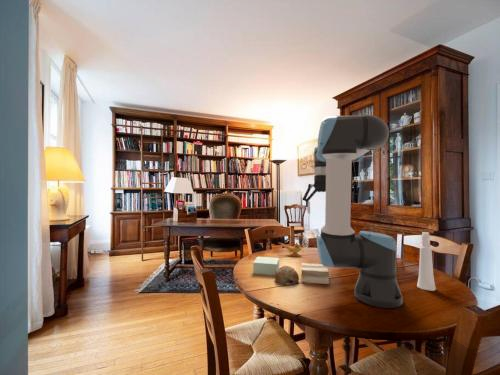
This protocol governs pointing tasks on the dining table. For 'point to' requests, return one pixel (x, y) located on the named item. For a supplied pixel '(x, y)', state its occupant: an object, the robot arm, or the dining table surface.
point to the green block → (265, 265)
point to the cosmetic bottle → (426, 265)
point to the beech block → (315, 273)
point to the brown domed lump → (286, 275)
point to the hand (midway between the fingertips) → (321, 213)
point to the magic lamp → (294, 248)
